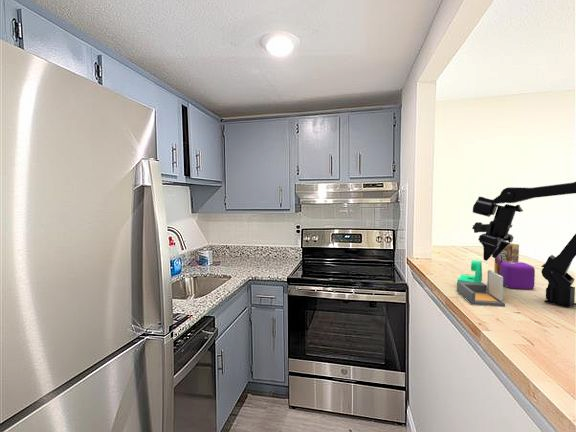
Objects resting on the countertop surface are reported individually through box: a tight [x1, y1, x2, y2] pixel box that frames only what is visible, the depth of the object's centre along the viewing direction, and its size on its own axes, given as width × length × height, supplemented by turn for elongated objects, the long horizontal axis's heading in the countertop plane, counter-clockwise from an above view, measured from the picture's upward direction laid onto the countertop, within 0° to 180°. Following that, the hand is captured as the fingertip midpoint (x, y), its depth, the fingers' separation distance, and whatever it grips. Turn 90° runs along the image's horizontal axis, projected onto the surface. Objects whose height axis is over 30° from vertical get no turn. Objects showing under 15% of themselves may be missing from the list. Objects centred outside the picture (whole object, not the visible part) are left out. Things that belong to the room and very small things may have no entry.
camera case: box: [456, 281, 506, 307], centre depth 112 cm, size 10×17×4 cm, turn 168°
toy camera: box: [500, 261, 536, 290], centre depth 128 cm, size 11×14×10 cm
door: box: [486, 269, 504, 302], centre depth 109 cm, size 1×10×8 cm, turn 168°
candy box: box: [493, 242, 520, 275], centre depth 144 cm, size 9×4×15 cm, turn 13°
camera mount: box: [457, 259, 483, 283], centre depth 130 cm, size 12×8×10 cm, turn 143°
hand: (489, 258), depth 120 cm, fingers open, 9 cm apart
